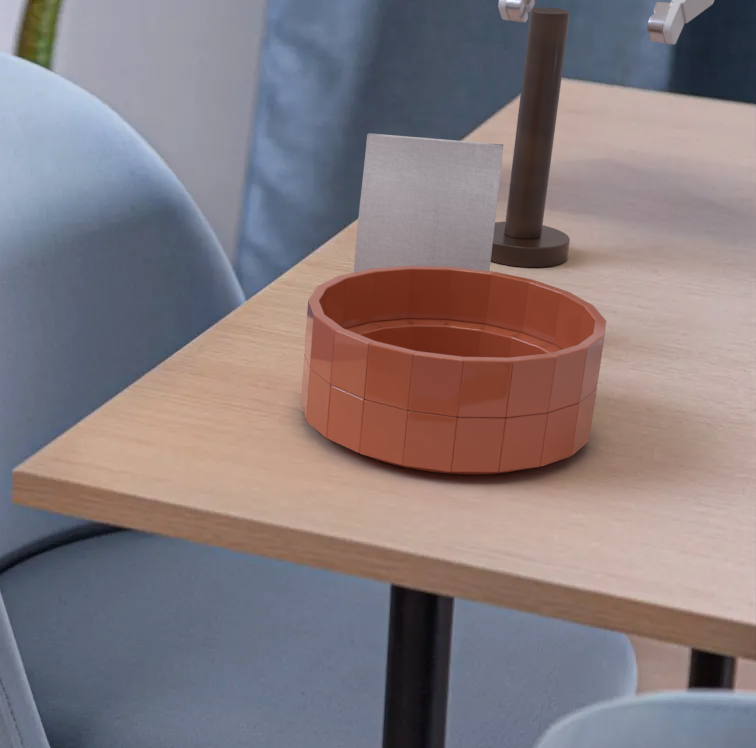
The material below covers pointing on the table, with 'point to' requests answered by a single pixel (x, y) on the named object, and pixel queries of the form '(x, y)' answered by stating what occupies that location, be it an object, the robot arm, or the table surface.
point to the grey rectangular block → (427, 203)
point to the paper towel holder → (535, 149)
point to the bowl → (451, 368)
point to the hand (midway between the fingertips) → (583, 25)
